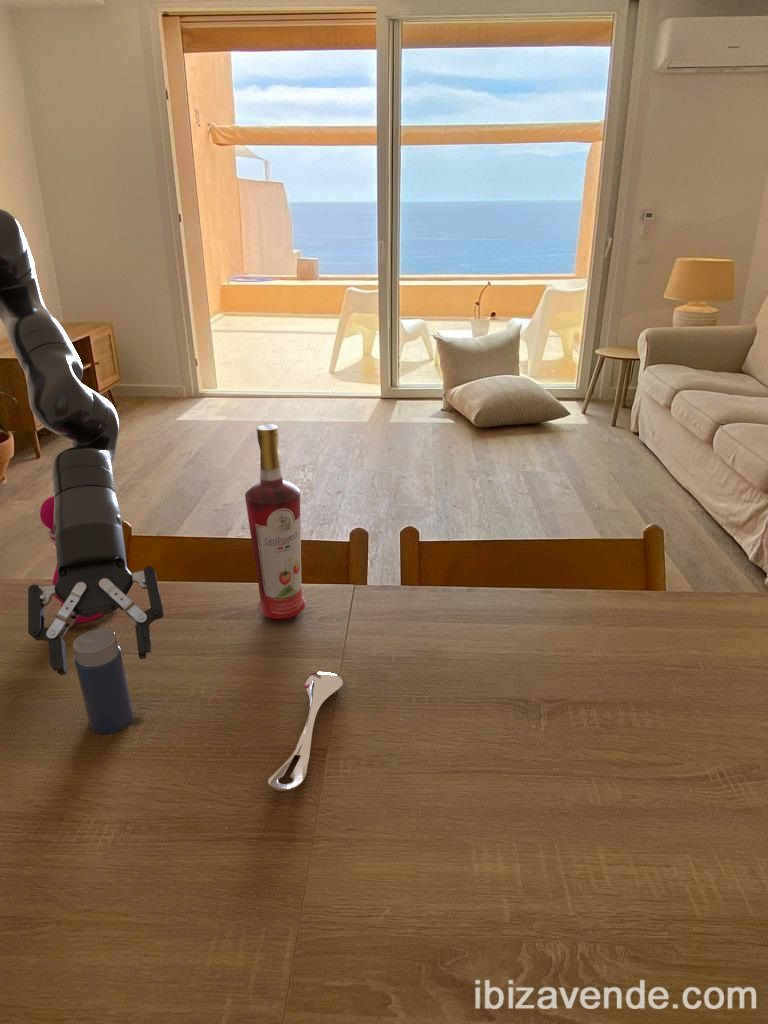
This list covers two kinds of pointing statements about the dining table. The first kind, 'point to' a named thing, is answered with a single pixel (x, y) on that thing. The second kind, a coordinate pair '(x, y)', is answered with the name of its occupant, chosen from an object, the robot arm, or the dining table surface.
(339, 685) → the ice cream scoop
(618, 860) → the dining table surface
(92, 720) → the cylinder
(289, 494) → the liquor
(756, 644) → the dining table surface
